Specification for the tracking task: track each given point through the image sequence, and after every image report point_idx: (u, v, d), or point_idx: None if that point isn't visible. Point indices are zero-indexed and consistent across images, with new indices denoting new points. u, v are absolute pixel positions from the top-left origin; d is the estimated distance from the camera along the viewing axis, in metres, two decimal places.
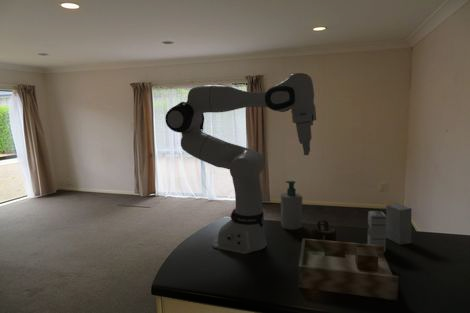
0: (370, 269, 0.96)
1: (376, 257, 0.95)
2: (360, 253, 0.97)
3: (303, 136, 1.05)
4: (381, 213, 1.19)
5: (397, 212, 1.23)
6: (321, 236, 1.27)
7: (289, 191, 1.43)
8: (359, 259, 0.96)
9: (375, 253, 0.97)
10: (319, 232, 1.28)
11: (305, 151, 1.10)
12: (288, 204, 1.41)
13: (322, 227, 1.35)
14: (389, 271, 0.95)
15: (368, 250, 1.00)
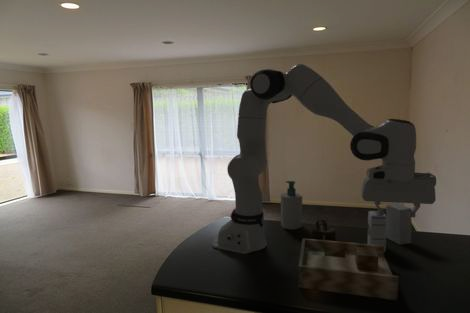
0: (370, 269, 0.96)
1: (376, 257, 0.95)
2: (360, 253, 0.97)
3: (362, 191, 0.97)
4: None
5: (396, 212, 1.24)
6: (321, 236, 1.28)
7: (289, 191, 1.43)
8: (359, 259, 0.96)
9: (375, 253, 0.97)
10: (319, 232, 1.28)
11: (378, 210, 0.96)
12: (288, 204, 1.41)
13: (321, 227, 1.35)
14: (389, 271, 0.95)
15: (368, 250, 1.00)
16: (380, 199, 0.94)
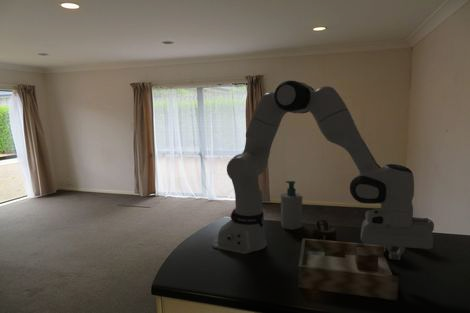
0: (370, 269, 0.96)
1: (376, 257, 0.95)
2: (360, 253, 0.97)
3: (361, 234, 0.98)
4: None
5: None
6: (321, 236, 1.28)
7: (289, 191, 1.43)
8: (359, 259, 0.96)
9: (375, 253, 0.97)
10: (319, 232, 1.28)
11: (389, 253, 0.97)
12: (288, 204, 1.41)
13: (322, 227, 1.35)
14: (389, 271, 0.95)
15: (368, 250, 1.00)
16: (379, 242, 0.95)
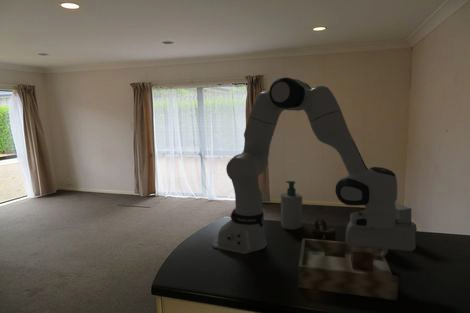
0: (365, 268, 0.96)
1: (371, 257, 0.95)
2: (355, 253, 0.98)
3: (346, 235, 1.00)
4: None
5: (397, 212, 1.24)
6: (321, 236, 1.28)
7: (289, 191, 1.43)
8: (354, 258, 0.97)
9: (370, 253, 0.97)
10: (319, 232, 1.28)
11: (373, 255, 0.98)
12: (288, 204, 1.41)
13: (321, 227, 1.35)
14: (389, 271, 0.95)
15: (363, 249, 1.00)
16: (363, 244, 0.97)
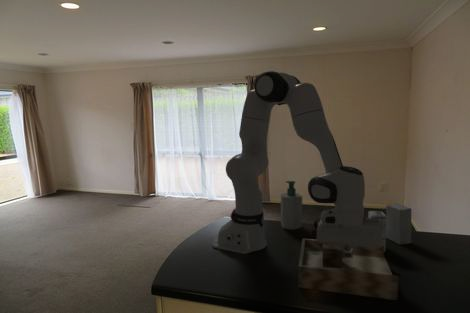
0: (334, 266, 0.99)
1: (340, 254, 0.98)
2: (325, 250, 1.00)
3: None
4: (381, 213, 1.19)
5: (397, 212, 1.23)
6: None
7: (289, 191, 1.43)
8: (324, 256, 0.99)
9: (340, 250, 1.00)
10: None
11: (343, 252, 1.01)
12: (288, 204, 1.41)
13: None
14: (389, 271, 0.95)
15: (334, 247, 1.02)
16: (332, 241, 0.99)
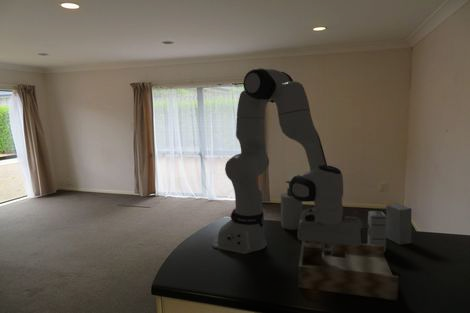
0: (315, 263, 1.00)
1: (320, 252, 0.99)
2: (306, 248, 1.01)
3: None
4: (381, 213, 1.19)
5: (397, 212, 1.23)
6: None
7: (289, 191, 1.43)
8: (304, 254, 1.01)
9: (320, 248, 1.01)
10: None
11: (323, 249, 1.02)
12: (288, 204, 1.41)
13: None
14: (389, 271, 0.95)
15: (315, 245, 1.04)
16: (312, 239, 1.01)
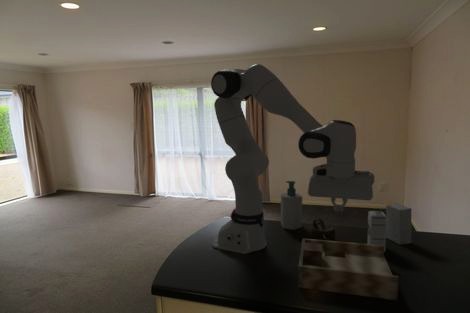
0: (315, 263, 1.00)
1: (320, 252, 0.99)
2: (306, 248, 1.01)
3: None
4: (381, 213, 1.19)
5: (397, 212, 1.23)
6: (321, 235, 1.28)
7: (289, 191, 1.43)
8: (304, 254, 1.01)
9: (320, 248, 1.01)
10: (318, 231, 1.29)
11: (334, 206, 1.02)
12: (288, 204, 1.41)
13: (319, 226, 1.36)
14: (389, 271, 0.95)
15: (315, 245, 1.04)
16: (323, 195, 1.00)
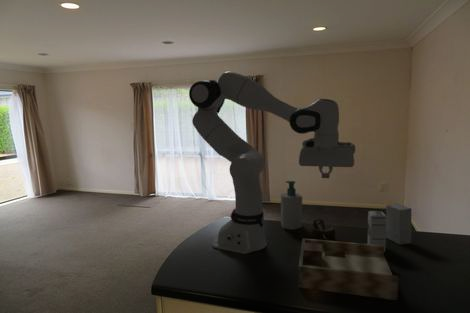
0: (315, 263, 1.00)
1: (320, 252, 0.99)
2: (306, 248, 1.01)
3: None
4: (381, 213, 1.19)
5: (397, 212, 1.24)
6: (321, 235, 1.29)
7: (289, 191, 1.43)
8: (304, 254, 1.01)
9: (320, 248, 1.01)
10: (319, 231, 1.29)
11: None
12: (288, 204, 1.41)
13: (319, 226, 1.36)
14: (389, 271, 0.95)
15: (315, 245, 1.04)
16: (312, 164, 1.16)
